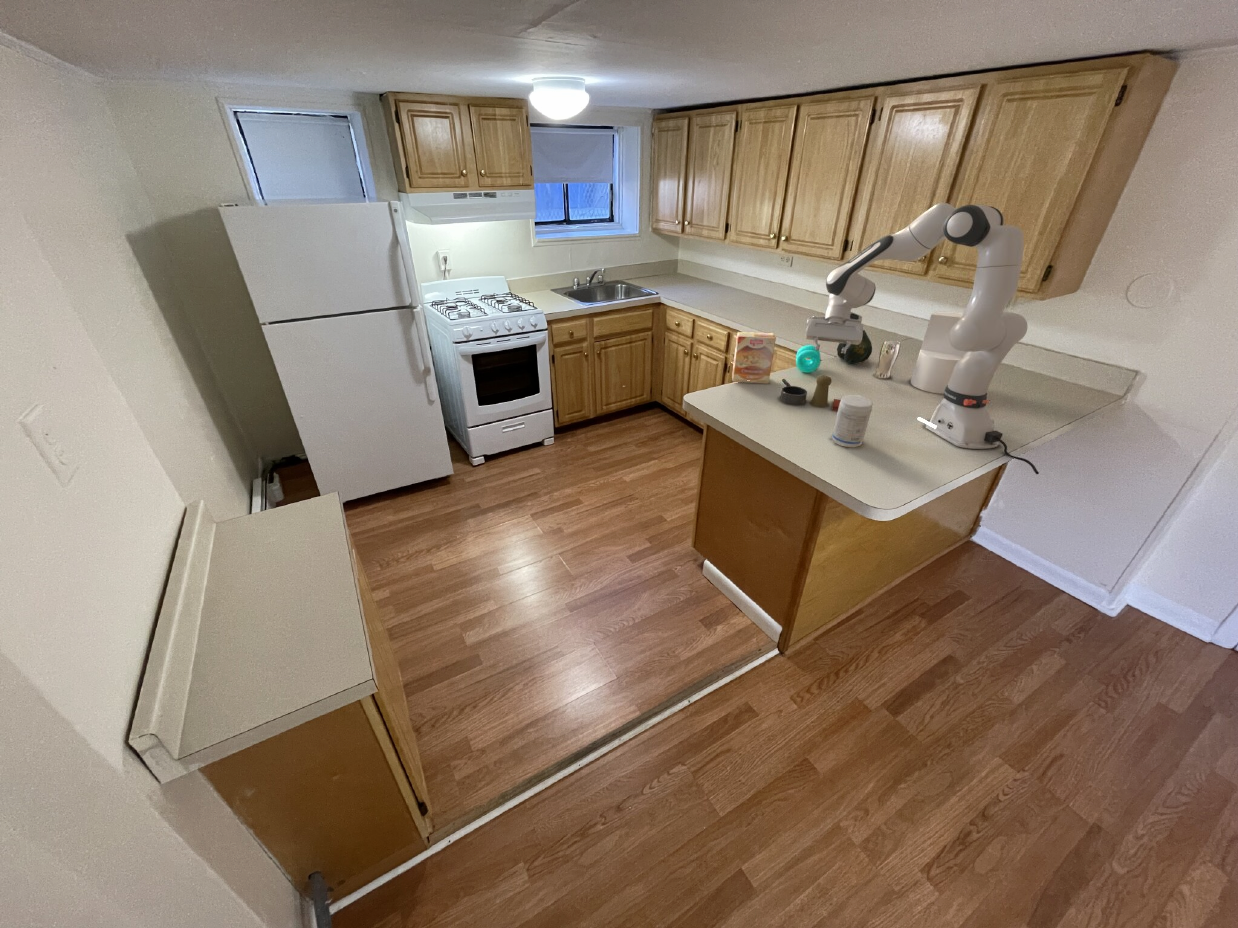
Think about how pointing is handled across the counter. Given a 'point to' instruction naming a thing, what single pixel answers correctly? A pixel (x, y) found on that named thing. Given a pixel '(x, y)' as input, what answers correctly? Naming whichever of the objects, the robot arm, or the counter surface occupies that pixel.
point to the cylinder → (937, 354)
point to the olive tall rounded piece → (821, 391)
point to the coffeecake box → (753, 357)
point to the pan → (793, 395)
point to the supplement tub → (852, 420)
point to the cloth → (836, 404)
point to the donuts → (812, 363)
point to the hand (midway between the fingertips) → (830, 351)
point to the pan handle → (785, 382)
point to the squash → (856, 351)
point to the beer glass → (887, 358)
